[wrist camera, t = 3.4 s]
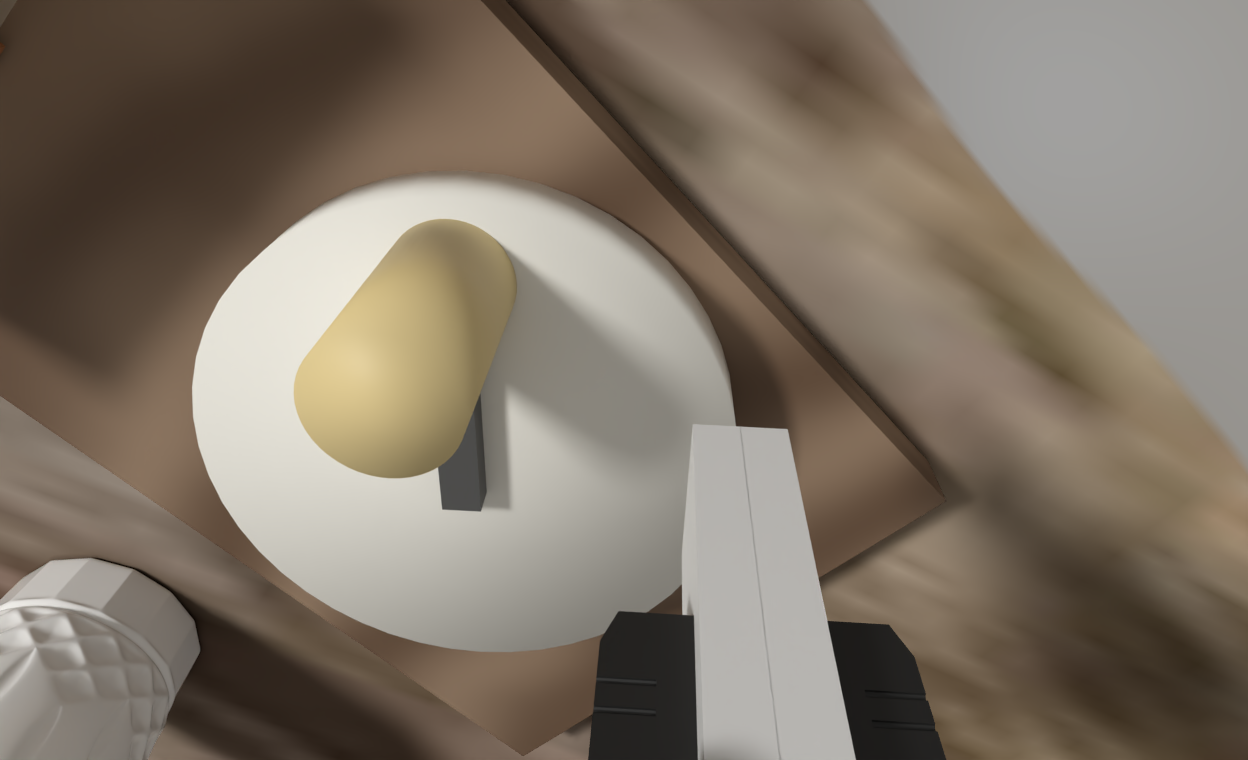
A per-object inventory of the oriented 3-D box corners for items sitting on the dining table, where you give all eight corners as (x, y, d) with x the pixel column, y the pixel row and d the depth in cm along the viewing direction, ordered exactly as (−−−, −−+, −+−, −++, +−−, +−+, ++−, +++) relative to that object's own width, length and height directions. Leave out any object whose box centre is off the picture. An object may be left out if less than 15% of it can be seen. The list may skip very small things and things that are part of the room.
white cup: (257, 627, 32) (100, 905, 23) (154, 722, 35) (-18, 999, 26) (61, 505, 29) (-198, 765, 20) (-32, 619, 32) (-291, 888, 23)
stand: (928, 461, 26) (1036, 699, 19) (530, 711, 33) (487, 963, 25) (182, -352, 17) (-216, -551, 10) (-156, 218, 24) (-553, 374, 16)
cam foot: (711, 615, 27) (724, 845, 20) (276, 591, 27) (153, 808, 21) (759, 183, 20) (802, 323, 13) (174, 157, 20) (-59, 281, 14)
